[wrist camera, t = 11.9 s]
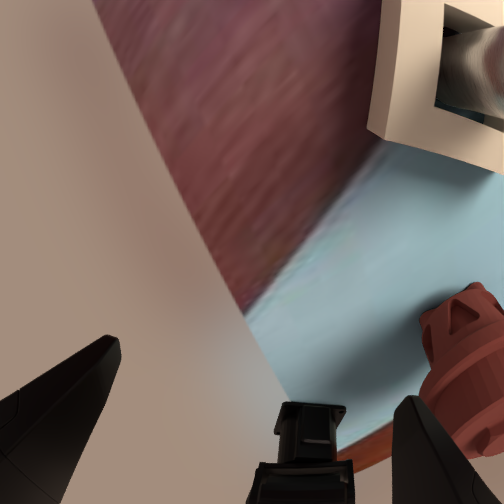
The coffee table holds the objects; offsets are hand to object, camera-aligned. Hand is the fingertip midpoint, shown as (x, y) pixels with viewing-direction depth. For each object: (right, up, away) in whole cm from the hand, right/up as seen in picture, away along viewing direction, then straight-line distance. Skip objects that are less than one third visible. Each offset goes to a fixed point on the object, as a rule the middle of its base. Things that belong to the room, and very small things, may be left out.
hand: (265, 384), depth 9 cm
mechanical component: (+16, -1, +13) cm, 21 cm away
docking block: (+12, +14, +5) cm, 19 cm away
